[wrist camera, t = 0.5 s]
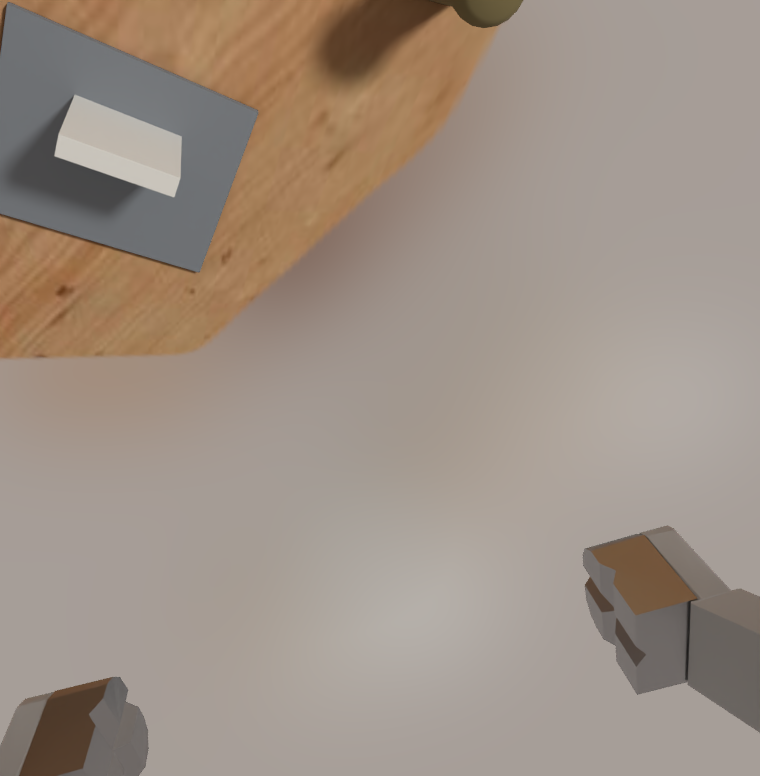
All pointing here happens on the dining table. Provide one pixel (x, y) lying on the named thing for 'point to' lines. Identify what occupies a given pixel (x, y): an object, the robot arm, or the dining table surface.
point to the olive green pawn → (483, 10)
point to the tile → (120, 146)
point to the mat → (96, 189)
